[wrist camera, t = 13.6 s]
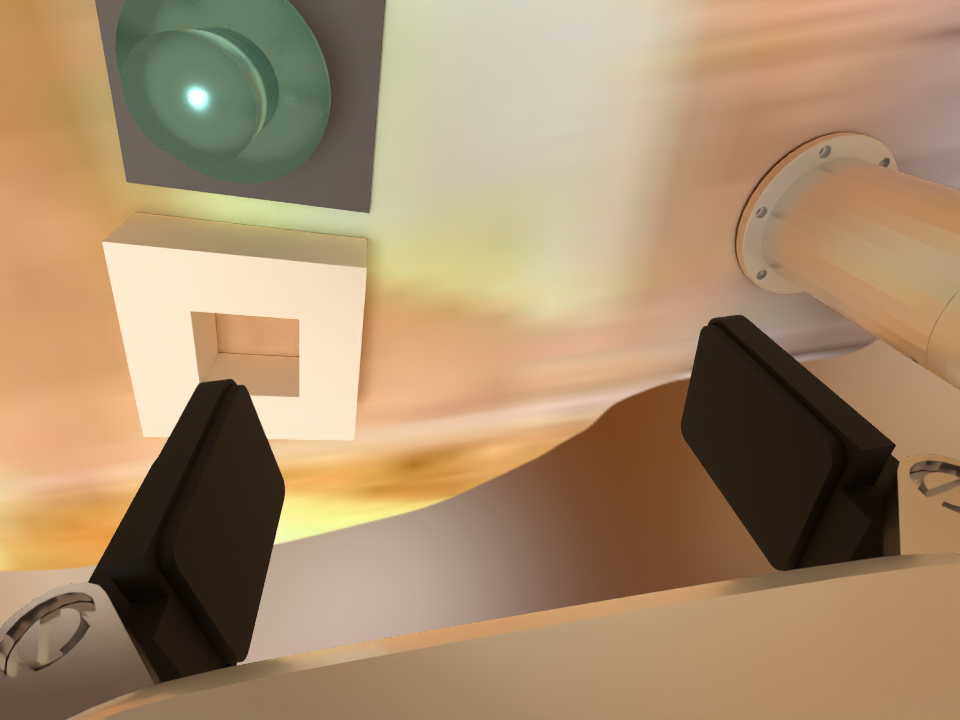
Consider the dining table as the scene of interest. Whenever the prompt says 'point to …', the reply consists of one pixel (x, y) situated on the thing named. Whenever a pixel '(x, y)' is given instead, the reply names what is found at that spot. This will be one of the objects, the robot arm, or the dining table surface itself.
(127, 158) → the mat
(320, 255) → the housing
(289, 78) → the end cover
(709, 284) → the dining table surface
